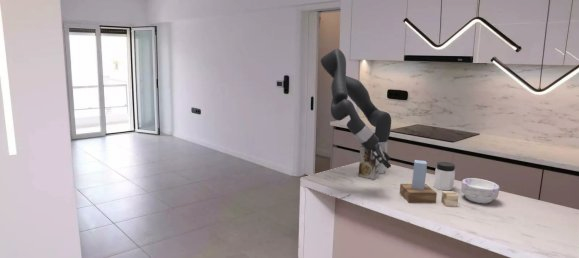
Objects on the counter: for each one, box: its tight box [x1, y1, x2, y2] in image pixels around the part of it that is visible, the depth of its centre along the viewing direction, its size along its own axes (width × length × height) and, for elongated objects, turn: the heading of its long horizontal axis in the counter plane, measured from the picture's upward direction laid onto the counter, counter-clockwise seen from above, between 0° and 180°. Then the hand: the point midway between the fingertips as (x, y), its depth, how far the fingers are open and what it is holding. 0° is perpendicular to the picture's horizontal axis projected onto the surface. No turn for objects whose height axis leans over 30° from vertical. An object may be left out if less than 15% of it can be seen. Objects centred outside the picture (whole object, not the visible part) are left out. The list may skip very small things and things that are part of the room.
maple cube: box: [440, 190, 459, 207], centre depth 173 cm, size 5×5×5 cm
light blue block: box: [411, 159, 428, 190], centre depth 178 cm, size 5×5×12 cm
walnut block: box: [399, 183, 438, 204], centre depth 179 cm, size 12×12×5 cm
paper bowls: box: [460, 177, 500, 204], centre depth 179 cm, size 15×15×8 cm
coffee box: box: [358, 145, 380, 180], centre depth 208 cm, size 9×6×16 cm
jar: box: [433, 161, 456, 191], centre depth 194 cm, size 9×8×12 cm
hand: (389, 163), depth 182 cm, fingers open, 8 cm apart
